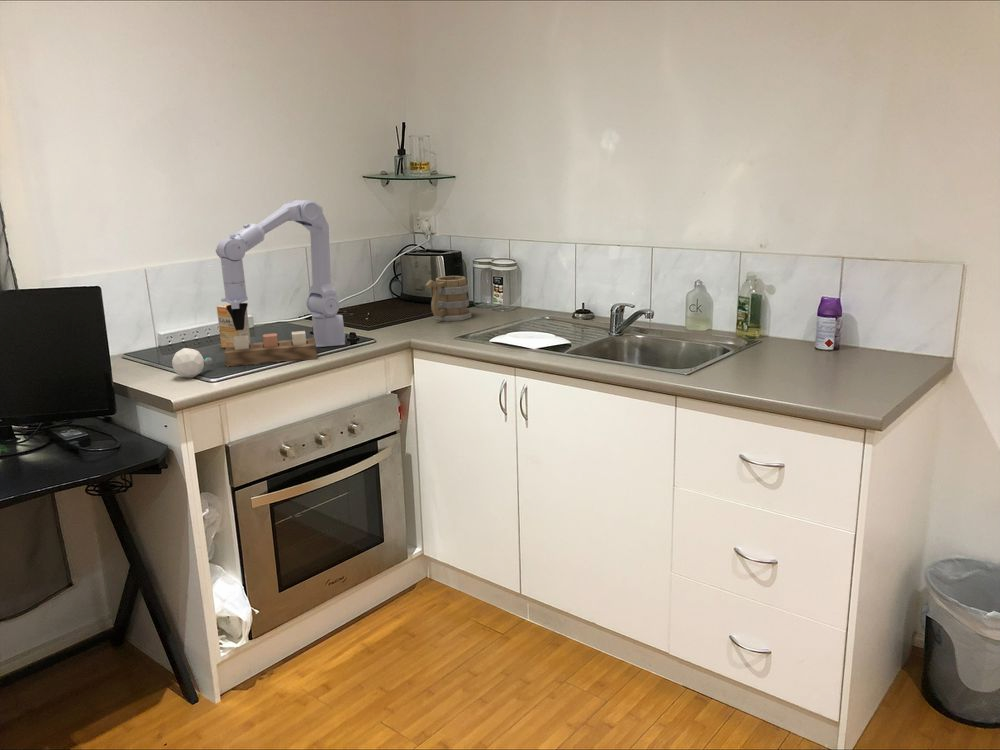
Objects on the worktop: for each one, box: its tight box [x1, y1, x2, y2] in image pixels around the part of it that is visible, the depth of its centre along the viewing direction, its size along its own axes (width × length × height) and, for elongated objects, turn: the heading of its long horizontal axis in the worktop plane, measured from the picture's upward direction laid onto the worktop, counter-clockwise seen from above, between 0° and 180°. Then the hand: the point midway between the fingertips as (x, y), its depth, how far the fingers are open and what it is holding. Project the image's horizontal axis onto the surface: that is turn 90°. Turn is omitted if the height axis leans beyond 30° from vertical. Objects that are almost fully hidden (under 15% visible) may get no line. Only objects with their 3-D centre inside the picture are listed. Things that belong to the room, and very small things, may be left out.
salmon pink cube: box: [262, 332, 279, 348], centre depth 233 cm, size 4×4×4 cm
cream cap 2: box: [291, 330, 307, 345], centre depth 234 cm, size 4×4×4 cm
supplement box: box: [216, 303, 251, 349], centre depth 247 cm, size 8×5×13 cm, turn 62°
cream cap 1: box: [234, 336, 249, 350], centre depth 231 cm, size 4×4×4 cm
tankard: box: [425, 275, 472, 322], centre depth 279 cm, size 20×13×15 cm, turn 144°
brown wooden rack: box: [224, 337, 318, 368], centre depth 233 cm, size 25×10×4 cm, turn 104°
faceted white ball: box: [171, 347, 213, 379], centre depth 218 cm, size 8×8×12 cm
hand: (239, 329), depth 230 cm, fingers closed
